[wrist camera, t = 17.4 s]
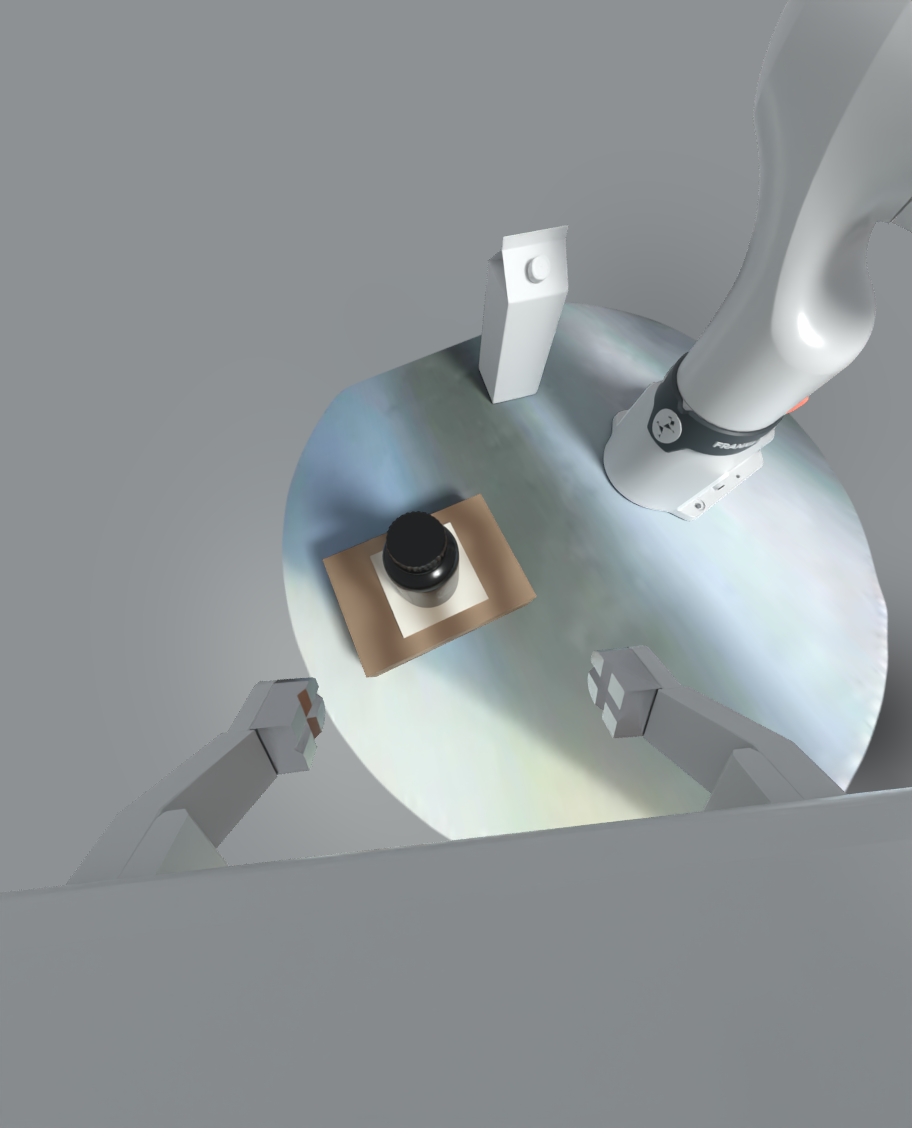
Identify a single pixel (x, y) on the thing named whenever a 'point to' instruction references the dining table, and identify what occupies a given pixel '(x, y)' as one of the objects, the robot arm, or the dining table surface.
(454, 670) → the dining table surface
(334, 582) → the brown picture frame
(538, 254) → the milk carton
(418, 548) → the supplement bottle
